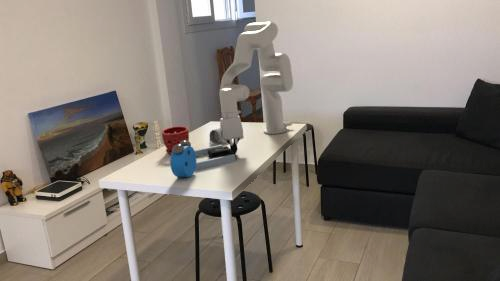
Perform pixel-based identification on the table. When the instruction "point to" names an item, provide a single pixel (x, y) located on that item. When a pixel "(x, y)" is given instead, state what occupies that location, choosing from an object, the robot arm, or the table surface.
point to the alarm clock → (183, 159)
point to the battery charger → (220, 152)
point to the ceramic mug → (215, 136)
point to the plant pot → (174, 137)
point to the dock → (212, 161)
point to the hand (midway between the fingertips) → (234, 152)
